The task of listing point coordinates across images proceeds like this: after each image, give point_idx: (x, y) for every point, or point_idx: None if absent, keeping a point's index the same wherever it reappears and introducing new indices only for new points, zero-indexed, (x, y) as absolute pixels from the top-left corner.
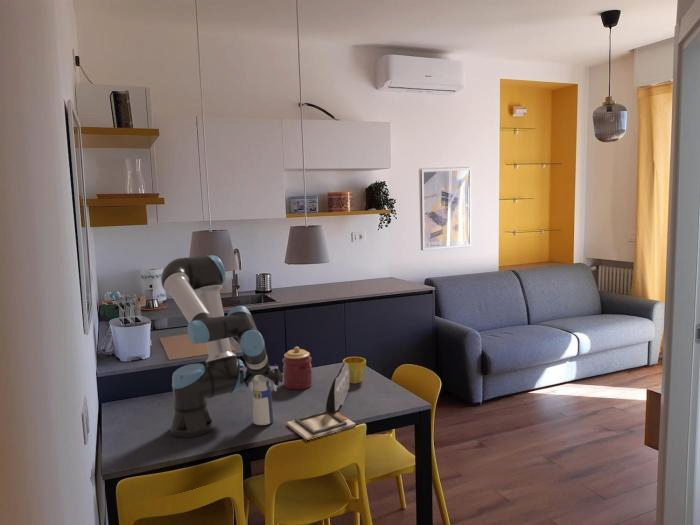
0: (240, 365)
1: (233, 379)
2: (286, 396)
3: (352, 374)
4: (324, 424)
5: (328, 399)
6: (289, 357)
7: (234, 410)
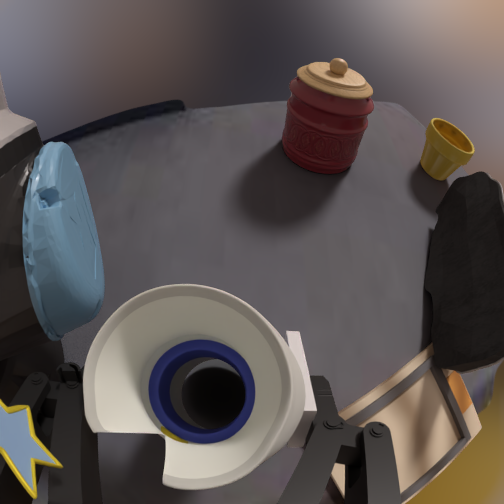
0: (25, 233)
1: (19, 332)
2: (294, 203)
3: (445, 165)
4: (421, 445)
5: (466, 364)
6: (319, 86)
7: (130, 269)
